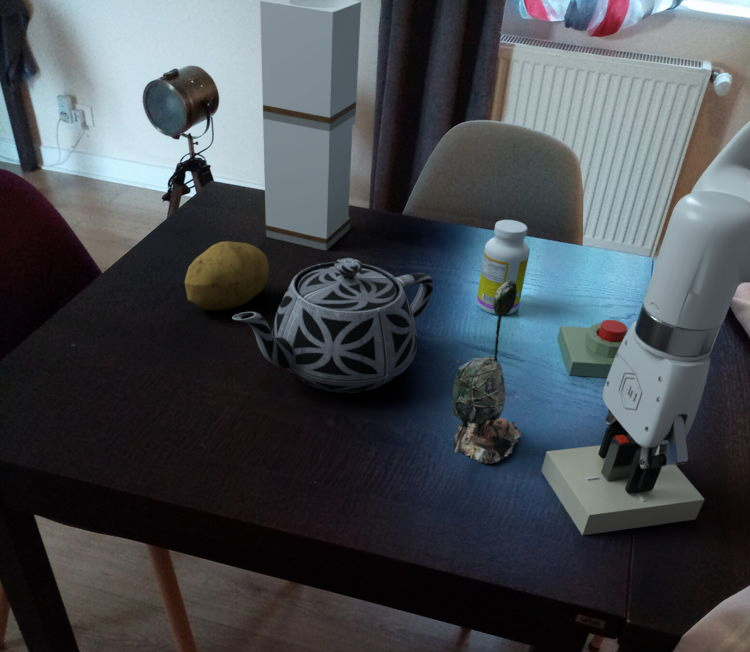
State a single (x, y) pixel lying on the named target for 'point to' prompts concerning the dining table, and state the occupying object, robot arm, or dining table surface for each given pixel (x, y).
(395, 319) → the teapot
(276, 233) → the banded white pillar
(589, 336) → the cutoff housing
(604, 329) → the cutoff button
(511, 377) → the dining table surface
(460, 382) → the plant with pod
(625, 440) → the dark grey rectangular block
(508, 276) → the supplement bottle
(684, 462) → the robot arm
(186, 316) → the dining table surface
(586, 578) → the dining table surface
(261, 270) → the potato
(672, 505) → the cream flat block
